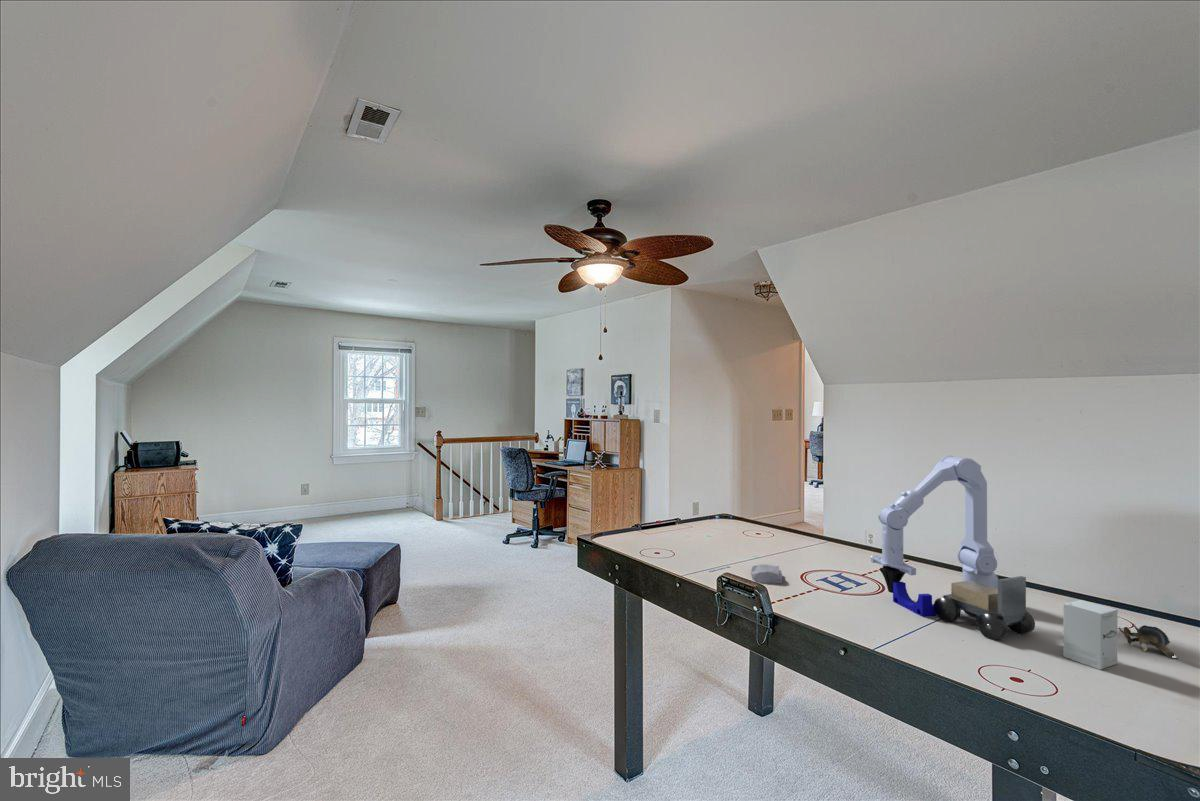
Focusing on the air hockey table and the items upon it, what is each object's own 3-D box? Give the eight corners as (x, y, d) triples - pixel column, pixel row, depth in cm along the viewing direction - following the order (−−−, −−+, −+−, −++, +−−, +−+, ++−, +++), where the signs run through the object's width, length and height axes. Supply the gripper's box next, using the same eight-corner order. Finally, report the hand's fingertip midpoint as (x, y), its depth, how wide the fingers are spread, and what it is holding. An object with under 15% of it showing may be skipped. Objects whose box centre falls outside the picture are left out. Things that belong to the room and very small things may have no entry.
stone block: (754, 588, 178) (785, 584, 176) (751, 574, 178) (782, 569, 176) (751, 578, 189) (779, 574, 187) (748, 565, 190) (777, 561, 188)
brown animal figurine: (1117, 643, 131) (1169, 651, 123) (1117, 615, 134) (1168, 620, 126) (1132, 656, 133) (1183, 664, 125) (1131, 627, 136) (1181, 634, 128)
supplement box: (1101, 670, 119) (1101, 614, 119) (1062, 656, 126) (1061, 602, 126) (1119, 664, 122) (1118, 609, 122) (1079, 651, 129) (1079, 598, 129)
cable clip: (936, 616, 150) (936, 595, 150) (922, 617, 149) (922, 595, 150) (906, 601, 162) (906, 581, 162) (893, 601, 161) (893, 582, 161)
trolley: (966, 611, 154) (966, 558, 154) (1035, 636, 137) (1035, 577, 137) (933, 616, 150) (933, 562, 150) (1000, 643, 133) (1000, 582, 133)
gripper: (863, 542, 170) (863, 585, 169) (903, 554, 156) (903, 601, 156) (880, 541, 172) (880, 583, 172) (921, 552, 158) (921, 598, 158)
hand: (892, 592), depth 164 cm, fingers closed
